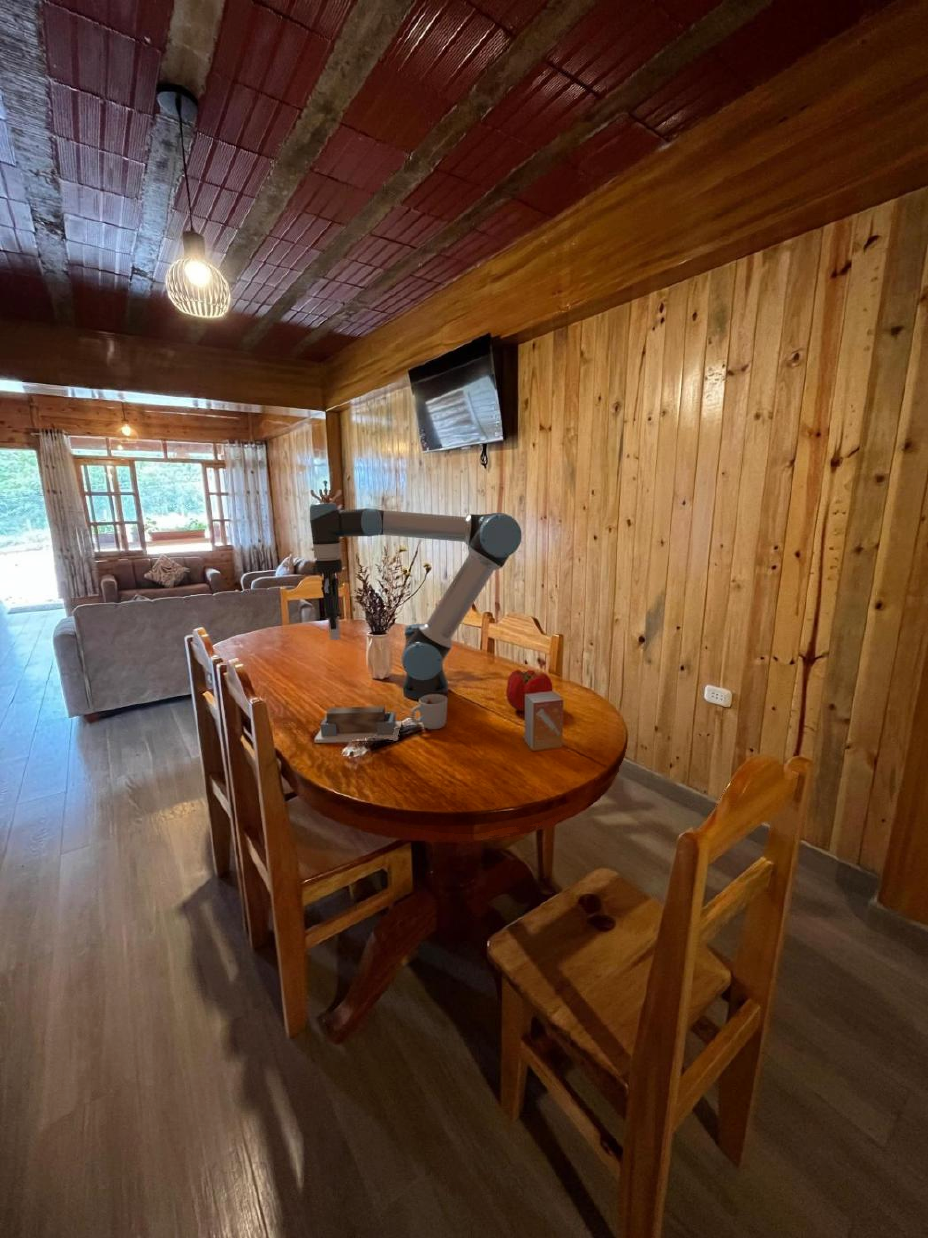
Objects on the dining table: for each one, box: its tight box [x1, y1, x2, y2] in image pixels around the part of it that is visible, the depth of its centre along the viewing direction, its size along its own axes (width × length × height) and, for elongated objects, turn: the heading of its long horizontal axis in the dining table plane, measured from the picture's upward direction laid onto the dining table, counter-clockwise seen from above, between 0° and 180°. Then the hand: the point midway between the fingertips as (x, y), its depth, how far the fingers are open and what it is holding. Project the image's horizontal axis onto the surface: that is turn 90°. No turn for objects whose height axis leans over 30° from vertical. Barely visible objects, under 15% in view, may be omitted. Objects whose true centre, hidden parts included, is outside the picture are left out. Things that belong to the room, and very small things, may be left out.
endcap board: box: [314, 711, 403, 744], centre depth 137 cm, size 22×10×4 cm, turn 90°
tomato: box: [505, 669, 554, 712], centre depth 150 cm, size 13×14×12 cm
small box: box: [524, 690, 564, 752], centre depth 127 cm, size 8×6×13 cm
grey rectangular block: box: [326, 705, 386, 734], centre depth 137 cm, size 15×4×6 cm, turn 91°
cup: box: [410, 694, 448, 730], centre depth 140 cm, size 11×8×8 cm
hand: (335, 638), depth 148 cm, fingers closed
